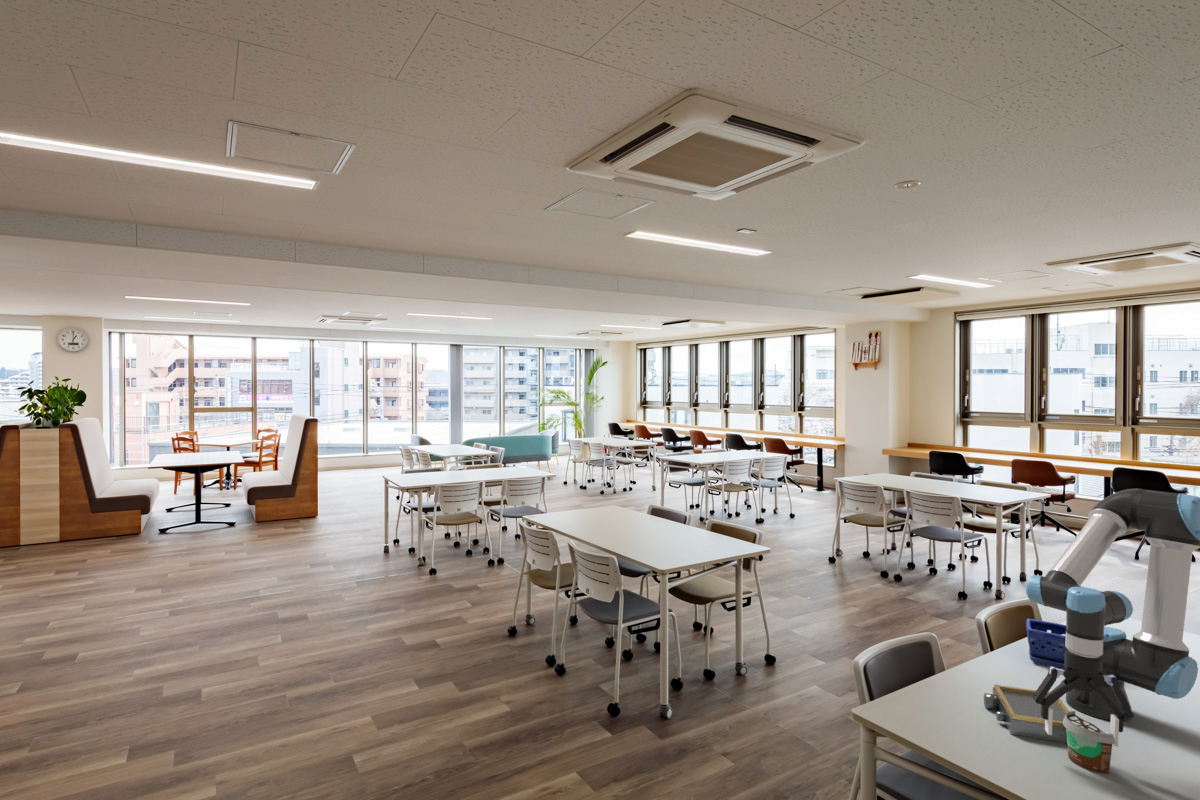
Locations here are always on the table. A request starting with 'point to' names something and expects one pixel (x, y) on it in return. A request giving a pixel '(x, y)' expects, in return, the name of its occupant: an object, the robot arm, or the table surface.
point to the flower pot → (1046, 643)
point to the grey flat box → (1026, 713)
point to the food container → (1088, 744)
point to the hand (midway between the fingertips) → (1080, 738)
